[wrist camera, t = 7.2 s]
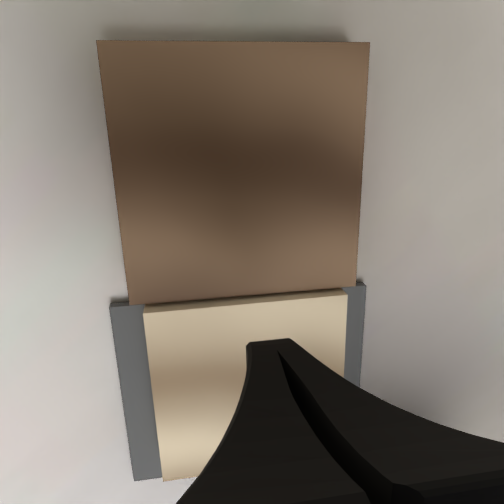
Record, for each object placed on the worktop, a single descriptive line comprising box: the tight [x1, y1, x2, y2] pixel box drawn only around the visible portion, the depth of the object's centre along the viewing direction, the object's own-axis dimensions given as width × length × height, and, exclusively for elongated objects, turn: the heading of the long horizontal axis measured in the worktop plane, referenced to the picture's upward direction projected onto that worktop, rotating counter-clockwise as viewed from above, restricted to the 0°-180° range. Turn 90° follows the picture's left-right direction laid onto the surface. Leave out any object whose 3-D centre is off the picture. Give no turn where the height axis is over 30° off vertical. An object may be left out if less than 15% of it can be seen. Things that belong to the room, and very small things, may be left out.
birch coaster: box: [143, 287, 348, 482], centre depth 17 cm, size 8×8×2 cm
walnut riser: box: [96, 40, 370, 305], centre depth 15 cm, size 9×9×2 cm
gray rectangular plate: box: [109, 282, 366, 481], centre depth 18 cm, size 9×11×1 cm
